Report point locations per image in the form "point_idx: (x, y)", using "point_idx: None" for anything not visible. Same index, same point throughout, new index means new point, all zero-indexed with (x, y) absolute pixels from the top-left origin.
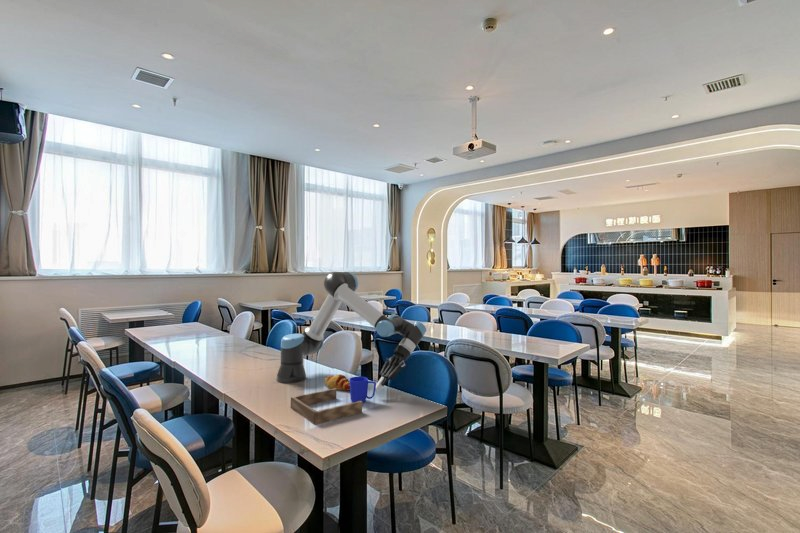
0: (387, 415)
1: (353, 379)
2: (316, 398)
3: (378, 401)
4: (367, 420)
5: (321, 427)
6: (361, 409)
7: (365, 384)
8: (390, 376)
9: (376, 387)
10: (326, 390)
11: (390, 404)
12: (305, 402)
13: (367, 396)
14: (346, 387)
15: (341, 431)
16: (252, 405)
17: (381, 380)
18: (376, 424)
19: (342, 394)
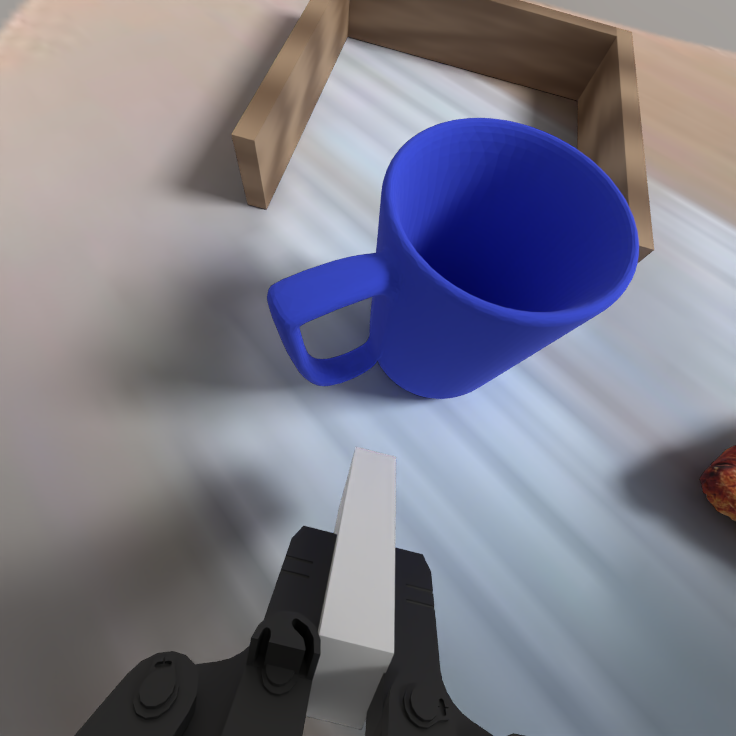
0: (50, 249)
1: (598, 239)
2: (596, 157)
3: (293, 447)
4: (140, 140)
5: (292, 19)
6: (245, 182)
7: (377, 237)
8: (100, 718)
9: (357, 462)
10: (637, 182)
11: (146, 454)
12: (589, 121)
13: (368, 358)
14: (727, 453)
15: (183, 20)
16: (709, 58)
17: (337, 557)
18: (55, 123)
19: (643, 390)
